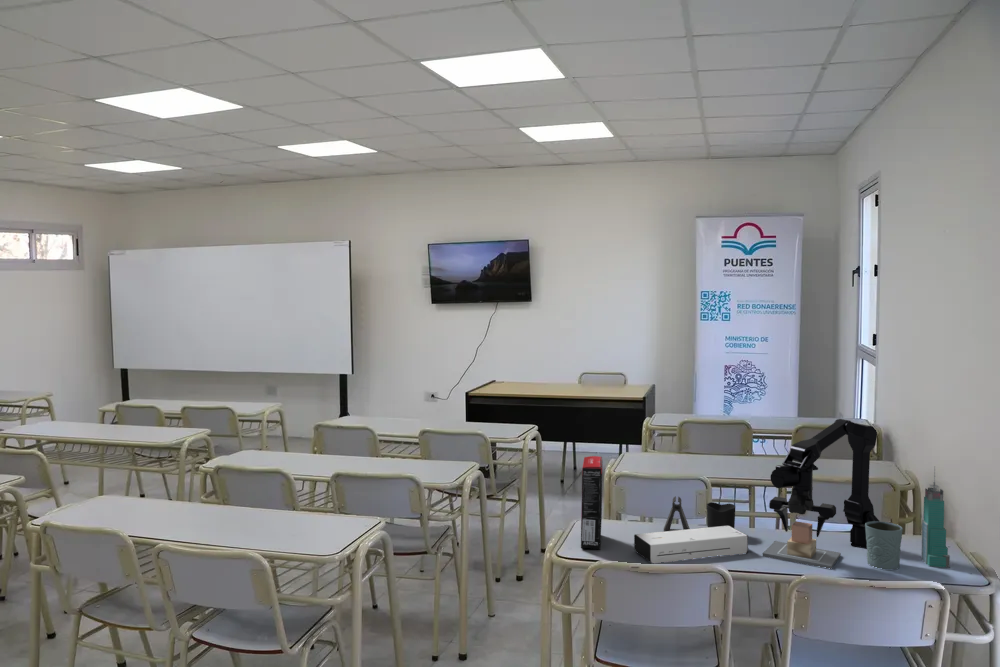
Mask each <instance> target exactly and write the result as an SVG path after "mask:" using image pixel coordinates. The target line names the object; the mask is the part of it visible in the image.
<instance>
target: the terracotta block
mask: <svg viewBox="0 0 1000 667" xmlns="http://www.w3.org/2000/svg"><path fill="white" fill-rule="evenodd" d="M791 537H792V541H794V542H800V543H806V544H809V543H810V542H811V540H812V539H813V523H808V522H802V521H794V522H793V523H792V524H791Z"/></svg>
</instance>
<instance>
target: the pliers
mask: <svg viewBox="0 0 1000 667" xmlns="http://www.w3.org/2000/svg"><path fill="white" fill-rule="evenodd" d="M676 502H677V503H676ZM671 506H672V507H671V509H670V510H669V514H668V517H667V519H666V522H665V524H664V526H663V532H665V531H676V530H681V529H678V528H677V529H676V528H671V526H672V523H673V520H674V516H675V513H676V512H678V514H679V517H680V522H681V525H682V530H687V529H691V528H690V526H689V522H688V520H687V518H686V515H685V512H684V509H683V507H682V498H681V497H680V496H677V497H676V496H673V498H672V505H671Z"/></svg>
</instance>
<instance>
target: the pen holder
mask: <svg viewBox="0 0 1000 667" xmlns="http://www.w3.org/2000/svg"><path fill="white" fill-rule="evenodd" d="M706 518H707V519H706V520H707V521H706V522H707V526H706V528H708V527H719V526H731V527H733V528H735V527H736V526H735V523H736V522H735V521H736V505H734V504H733V503H723V504H721V503H717V502H713V501H712V502H708V503H706Z"/></svg>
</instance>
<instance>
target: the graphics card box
mask: <svg viewBox="0 0 1000 667" xmlns="http://www.w3.org/2000/svg"><path fill="white" fill-rule="evenodd" d="M580 510H581V511H580V512H581V513H580V514H581V515H580V518H581V519H580V520H581V521H580V532H581V533H580V548H581V549H583V548H593V549H592V550H600V549H601V543H602V541H601V540H602V538H601V537H602V536H601V535H602V517H603V516H602V513H603V512H602V511H603V457H602V456H598V455H597V456H596V455H592V456H584V457H583V463H582V470H581V509H580Z"/></svg>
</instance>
